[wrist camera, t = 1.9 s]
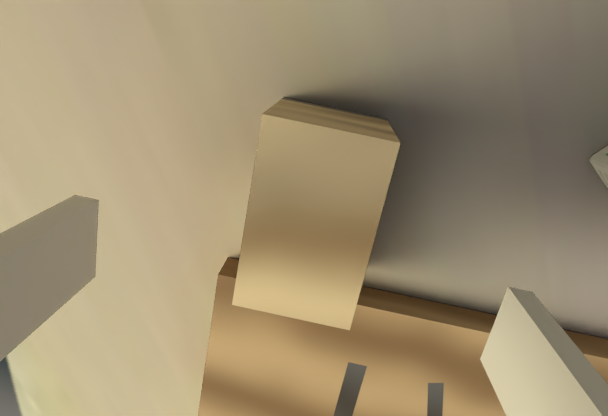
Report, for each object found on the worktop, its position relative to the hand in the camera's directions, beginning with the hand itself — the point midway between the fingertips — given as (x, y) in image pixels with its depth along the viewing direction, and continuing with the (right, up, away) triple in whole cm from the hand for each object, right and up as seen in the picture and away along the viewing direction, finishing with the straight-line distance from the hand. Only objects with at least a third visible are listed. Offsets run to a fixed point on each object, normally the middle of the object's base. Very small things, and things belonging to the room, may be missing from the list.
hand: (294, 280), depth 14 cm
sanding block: (+1, +3, +9) cm, 9 cm away
